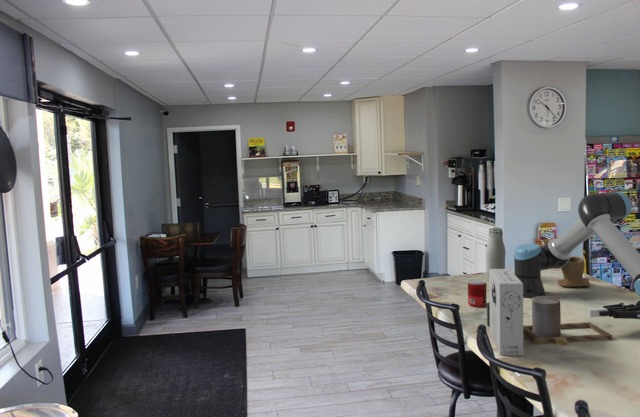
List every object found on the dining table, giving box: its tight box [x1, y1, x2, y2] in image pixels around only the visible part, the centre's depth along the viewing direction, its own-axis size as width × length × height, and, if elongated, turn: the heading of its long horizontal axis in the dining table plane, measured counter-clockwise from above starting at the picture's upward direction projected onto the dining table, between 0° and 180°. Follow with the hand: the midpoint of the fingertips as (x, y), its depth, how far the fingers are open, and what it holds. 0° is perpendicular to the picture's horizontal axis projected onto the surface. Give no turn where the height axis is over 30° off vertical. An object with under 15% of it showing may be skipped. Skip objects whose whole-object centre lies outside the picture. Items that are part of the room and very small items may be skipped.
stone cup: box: [557, 255, 591, 288], centre depth 247 cm, size 15×12×15 cm
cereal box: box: [488, 268, 524, 357], centre depth 178 cm, size 22×8×25 cm, turn 170°
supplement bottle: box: [486, 295, 490, 328], centre depth 197 cm, size 7×7×12 cm
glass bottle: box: [485, 227, 506, 278], centre depth 268 cm, size 10×10×28 cm
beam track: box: [523, 321, 613, 346], centre depth 185 cm, size 29×19×3 cm, turn 92°
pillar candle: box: [531, 295, 562, 338], centre depth 184 cm, size 10×10×15 cm
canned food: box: [467, 278, 487, 308], centre depth 224 cm, size 8×8×11 cm
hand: (589, 313), depth 185 cm, fingers closed
